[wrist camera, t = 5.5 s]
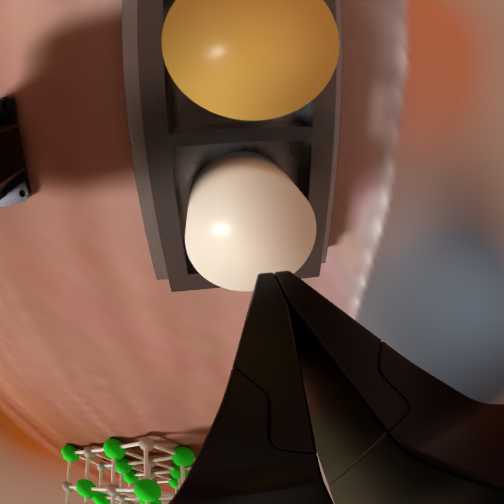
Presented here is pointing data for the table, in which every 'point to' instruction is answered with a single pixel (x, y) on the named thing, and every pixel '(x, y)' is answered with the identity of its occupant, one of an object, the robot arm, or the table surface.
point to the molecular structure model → (128, 473)
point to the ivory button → (246, 221)
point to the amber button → (250, 54)
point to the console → (214, 144)
